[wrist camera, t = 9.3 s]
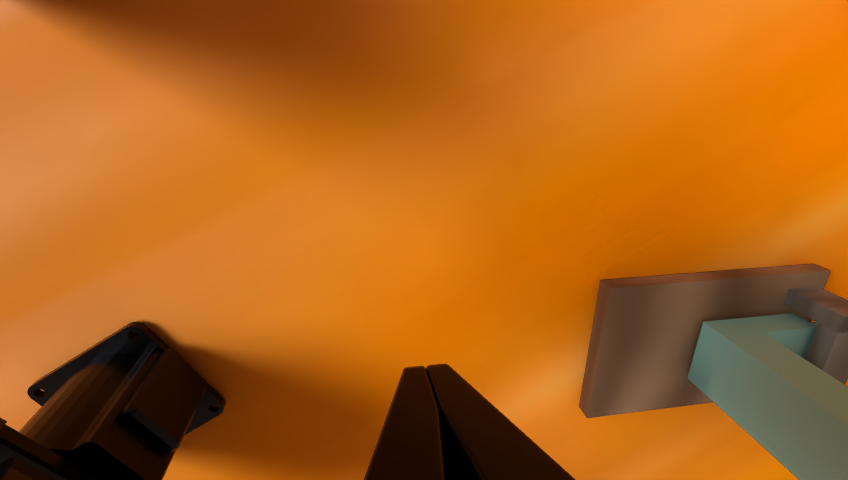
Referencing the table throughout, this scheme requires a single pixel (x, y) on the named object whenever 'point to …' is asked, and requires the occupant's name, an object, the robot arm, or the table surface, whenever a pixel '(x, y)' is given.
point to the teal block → (776, 391)
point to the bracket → (696, 330)
